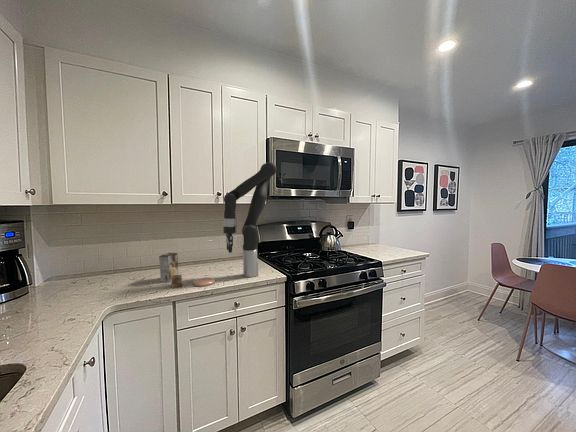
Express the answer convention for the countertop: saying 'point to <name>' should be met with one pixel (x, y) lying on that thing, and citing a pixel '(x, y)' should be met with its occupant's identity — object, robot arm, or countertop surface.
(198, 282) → the dish
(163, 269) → the coffee box
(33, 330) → the countertop surface
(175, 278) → the walnut block
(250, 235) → the robot arm
